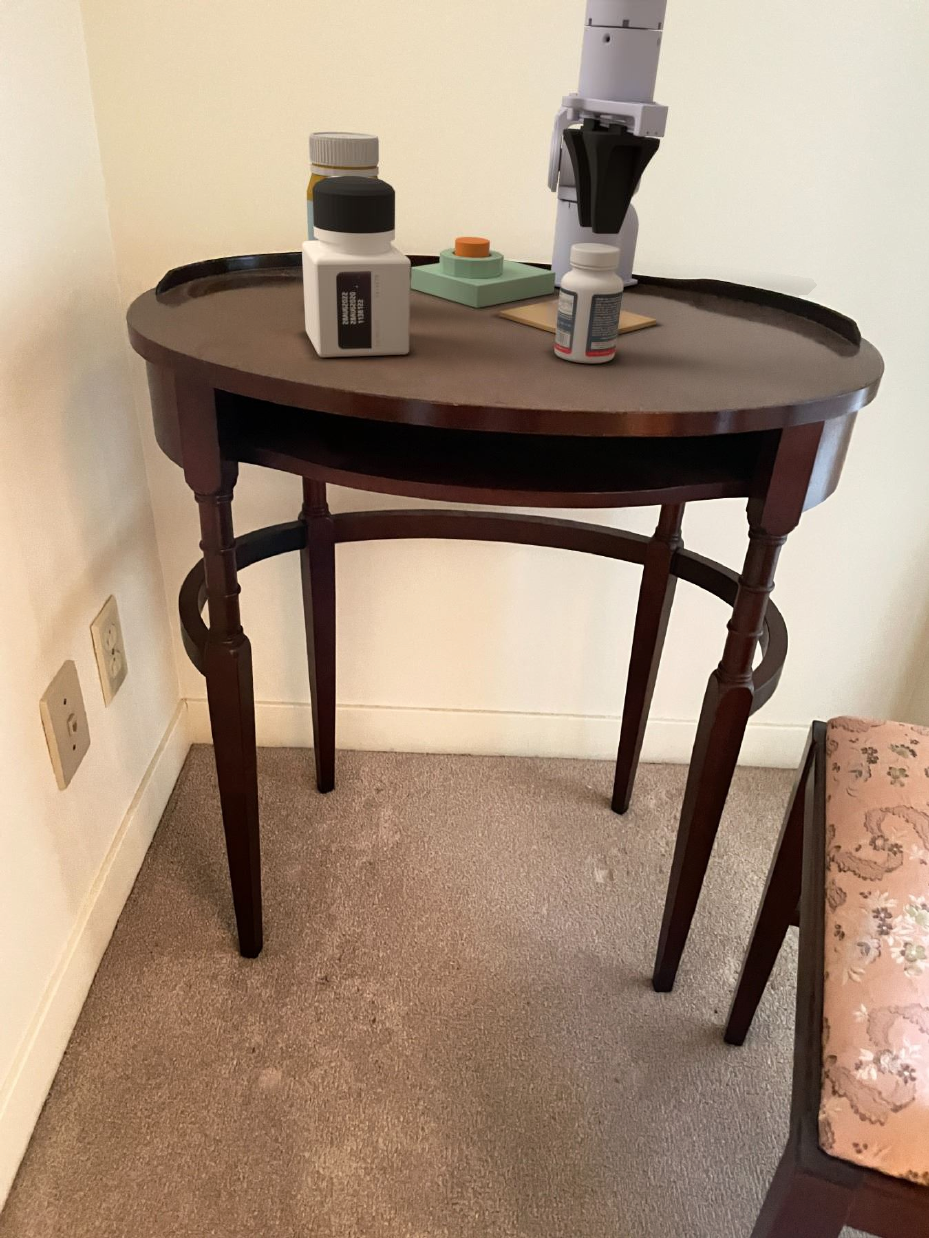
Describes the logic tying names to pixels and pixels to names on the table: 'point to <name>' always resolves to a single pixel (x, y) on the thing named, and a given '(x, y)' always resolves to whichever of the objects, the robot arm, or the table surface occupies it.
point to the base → (481, 279)
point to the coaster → (548, 312)
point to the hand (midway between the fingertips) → (598, 230)
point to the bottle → (339, 161)
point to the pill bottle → (589, 305)
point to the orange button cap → (472, 247)
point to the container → (355, 271)
